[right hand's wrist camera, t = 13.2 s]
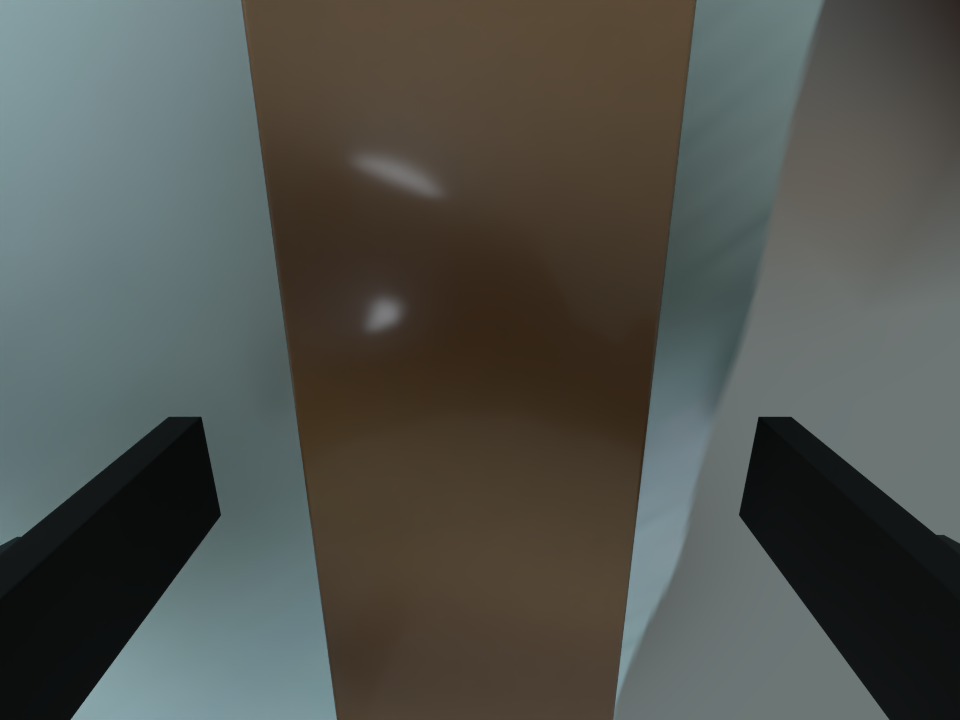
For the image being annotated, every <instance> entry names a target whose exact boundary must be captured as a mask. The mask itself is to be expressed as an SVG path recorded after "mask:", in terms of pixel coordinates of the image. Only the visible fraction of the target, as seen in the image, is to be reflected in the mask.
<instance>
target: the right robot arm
mask: <svg viewBox="0 0 960 720" xmlns="http://www.w3.org/2000/svg"><path fill="white" fill-rule="evenodd" d="M220 516H221V513H220V508H219V503H218V498H217V493H216V488H215V483H214V478H213V473H212V468H211V463H210V458H209V453H208V448H207V443H206V438H205V433H204V428H203V423H202V418H201V417H168V418H167V419H166V420H164V421H163V422H162V423H161V424H159V425H158V426H157V427H156V428H155V429H153V430H152V431H151V432H150V433H148V434H147V435H146V436H145V437H143V438H142V439H141V440H140V441H139V442H137V443H136V444H135V445H134V446H132V447H131V448H130V449H129V450H128V451H126V452H125V453H124V454H123V455H121V456H120V457H119V458H118V459H116V460H115V461H114V462H113V463H112V464H110V465H109V466H108V467H107V468H105V469H104V470H103V471H102V472H101V473H99V474H98V475H97V476H96V477H94V478H93V479H92V480H91V481H89V482H88V483H87V484H86V485H85V486H83V487H82V488H81V489H80V490H78V491H77V492H76V493H75V494H74V495H72V496H71V497H70V498H69V499H67V500H66V501H65V502H64V503H62V504H61V505H60V506H59V507H58V508H56V509H55V510H54V511H53V512H51V513H50V514H49V515H48V516H47V517H45V518H44V519H43V520H42V521H40V522H39V523H38V524H37V525H35V526H34V527H33V528H32V529H31V530H29V531H28V532H27V533H26V534H24V535H23V536H22V537H16V538H14V539H12V540H10V541H8V542H7V543H5V544H3V545H1V546H0V720H71V718H72V717H73V716H74V714H75V713H76V711H77V710H78V709H79V707H80V706H81V705H82V703H83V702H84V701H85V699H86V698H87V697H88V695H89V694H90V692H91V691H92V690H93V688H94V687H95V686H96V684H97V683H98V682H99V680H100V679H101V678H102V676H103V675H104V673H105V672H106V671H107V669H108V668H109V667H110V665H111V664H112V663H113V661H114V660H115V659H116V657H117V656H118V654H119V653H120V652H121V650H122V649H123V648H124V646H125V645H126V644H127V642H128V641H129V639H130V638H131V637H132V635H133V634H134V633H135V631H136V630H137V629H138V627H139V626H140V625H141V623H142V622H143V620H144V619H145V618H146V616H147V615H148V614H149V612H150V611H151V610H152V608H153V607H154V606H155V604H156V603H157V601H158V600H159V599H160V597H161V596H162V595H163V593H164V592H165V591H166V589H167V588H168V586H169V585H170V584H171V582H172V581H173V580H174V578H175V577H176V576H177V574H178V573H179V572H180V570H181V569H182V567H183V566H184V565H185V563H186V562H187V561H188V559H189V558H190V557H191V555H192V554H193V553H194V551H195V550H196V548H197V547H198V546H199V544H200V543H201V542H202V540H203V539H204V538H205V536H206V535H207V534H208V532H209V531H210V529H211V528H212V527H213V525H214V524H215V523H216V521H217V520H218V519H219V517H220ZM739 516H740V517H741V519H742V520H743V521H744V523H745V524H746V525H747V527H748V528H749V529H750V531H751V532H752V534H753V535H754V536H755V538H756V539H757V540H758V542H759V543H760V544H761V546H762V547H763V548H764V550H765V551H766V553H767V554H768V555H769V557H770V558H771V559H772V561H773V562H774V563H775V565H776V566H777V567H778V569H779V570H780V571H781V573H782V574H783V576H784V577H785V578H786V580H787V581H788V582H789V584H790V585H791V586H792V588H793V589H794V590H795V592H796V593H797V595H798V596H799V597H800V599H801V600H802V601H803V603H804V604H805V605H806V607H807V608H808V609H809V611H810V612H811V614H812V615H813V616H814V618H815V619H816V620H817V622H818V623H819V625H820V626H821V627H822V629H823V630H824V631H825V633H826V634H827V635H828V637H829V638H830V639H831V641H832V642H833V644H834V645H835V646H836V648H837V649H838V650H839V652H840V653H841V654H842V656H843V657H844V658H845V660H846V661H847V663H848V664H849V665H850V667H851V668H852V669H853V671H854V672H855V673H856V675H857V676H858V678H859V679H860V680H861V682H862V683H863V684H864V686H865V687H866V688H867V690H868V691H869V692H870V694H871V695H872V697H873V698H874V699H875V701H876V702H877V703H878V705H879V706H880V707H881V709H882V710H883V711H884V713H885V714H886V716H887V717H888V718H889V720H960V544H959V543H958V542H956V541H954V540H952V539H950V538H948V537H947V536H945V535H936V534H934V533H933V532H932V531H931V530H929V529H928V528H927V527H926V526H924V525H923V524H922V523H921V522H920V521H918V520H917V519H916V518H915V517H913V516H912V515H911V514H910V513H909V512H907V511H906V510H905V509H904V508H902V507H901V506H900V505H899V504H898V503H896V502H895V501H894V500H893V499H891V498H890V497H889V496H888V495H886V494H885V493H884V492H883V491H882V490H880V489H879V488H878V487H877V486H875V485H874V484H873V483H872V482H870V481H869V480H868V479H867V478H866V477H864V476H863V475H862V474H861V473H859V472H858V471H857V470H856V469H855V468H853V467H852V466H851V465H850V464H848V463H847V462H846V461H845V460H844V459H842V458H841V457H840V456H839V455H837V454H836V453H835V452H834V451H832V450H831V449H830V448H829V447H828V446H826V445H825V444H824V443H823V442H821V441H820V440H819V439H818V438H817V437H815V436H814V435H813V434H812V433H810V432H809V431H808V430H807V429H805V428H804V427H803V426H802V425H801V424H799V423H798V422H797V421H796V420H794V419H793V418H792V417H759V418H758V423H757V428H756V433H755V438H754V443H753V448H752V453H751V458H750V463H749V468H748V473H747V478H746V483H745V488H744V493H743V498H742V503H741V508H740V513H739Z"/></svg>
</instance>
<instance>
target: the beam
mask: <svg viewBox="0 0 960 720" xmlns="http://www.w3.org/2000/svg"><path fill="white" fill-rule="evenodd" d="M241 2H242V10H243V17H244V25H245V32H246V40H247V48H248V55H249V63H250V70H251V78H252V85H253V93H254V100H255V108H256V115H257V123H258V130H259V138H260V145H261V153H262V160H263V168H264V175H265V183H266V190H267V198H268V205H269V213H270V220H271V228H272V235H273V243H274V250H275V258H276V266H277V273H278V281H279V288H280V296H281V303H282V311H283V318H284V326H285V333H286V341H287V348H288V356H289V363H290V371H291V378H292V386H293V393H294V401H295V408H296V416H297V423H298V431H299V438H300V446H301V453H302V461H303V468H304V476H305V483H306V491H307V499H308V506H309V514H310V521H311V529H312V536H313V544H314V551H315V559H316V566H317V574H318V581H319V589H320V596H321V604H322V611H323V619H324V626H325V634H326V641H327V649H328V656H329V664H330V671H331V679H332V686H333V694H334V701H335V709H336V716H337V720H613V717H614V708H615V700H616V691H617V682H618V674H619V665H620V656H621V648H622V639H623V630H624V622H625V613H626V604H627V596H628V587H629V579H630V570H631V561H632V553H633V544H634V535H635V527H636V518H637V509H638V501H639V492H640V483H641V475H642V466H643V457H644V449H645V440H646V432H647V423H648V414H649V406H650V397H651V388H652V380H653V371H654V362H655V354H656V345H657V336H658V328H659V319H660V311H661V302H662V293H663V285H664V276H665V267H666V259H667V250H668V241H669V233H670V224H671V215H672V207H673V198H674V189H675V181H676V172H677V164H678V155H679V146H680V138H681V129H682V120H683V112H684V103H685V94H686V86H687V77H688V68H689V60H690V51H691V42H692V34H693V25H694V17H695V8H696V0H241Z"/></svg>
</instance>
